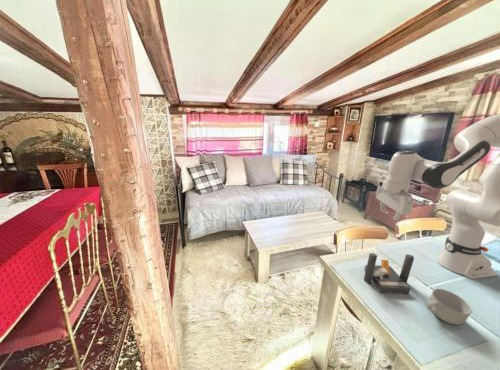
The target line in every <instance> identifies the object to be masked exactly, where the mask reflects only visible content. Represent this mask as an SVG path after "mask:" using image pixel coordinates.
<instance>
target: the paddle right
mask: <svg viewBox="0 0 500 370" xmlns="http://www.w3.org/2000/svg"><path fill="white" fill-rule="evenodd" d="M386 272H387V271H386V268H379V269H378V270H377V271H376V272H374V276H377V277H381V276H382V275H384V274H385V273H386Z"/></svg>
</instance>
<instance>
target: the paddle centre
mask: <svg viewBox="0 0 500 370" xmlns="http://www.w3.org/2000/svg"><path fill="white" fill-rule="evenodd" d="M380 263H381V265H380V266H382V268H386V271H387V272H386V273H385V274H384V275H389V274H390V271H389V266H390V265H389V260H388V259H380Z"/></svg>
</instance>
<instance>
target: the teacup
mask: <svg viewBox="0 0 500 370" xmlns="http://www.w3.org/2000/svg"><path fill="white" fill-rule="evenodd" d="M426 308H427V309H428V311H430V312H431V313H432V314H433V315H435V316H436V317H437V318H438V319H440V320H442V321H443V322H445V323H448V324H452V325H457V326H458V325H462V324H464V323H465V322H466V321H467V319H469V316H470V315H471V314H472V312H473V310H472V307H471V305H470V304H469V303H468V302H467V301H466V300H465V299H464V298H462V297H461V296H459V295H458V294H456V293H454V292H452V291H450V290H447V289H443V288H435V289H432V292H431V295H430V297H429V300H428V302H427V304H426Z"/></svg>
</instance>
